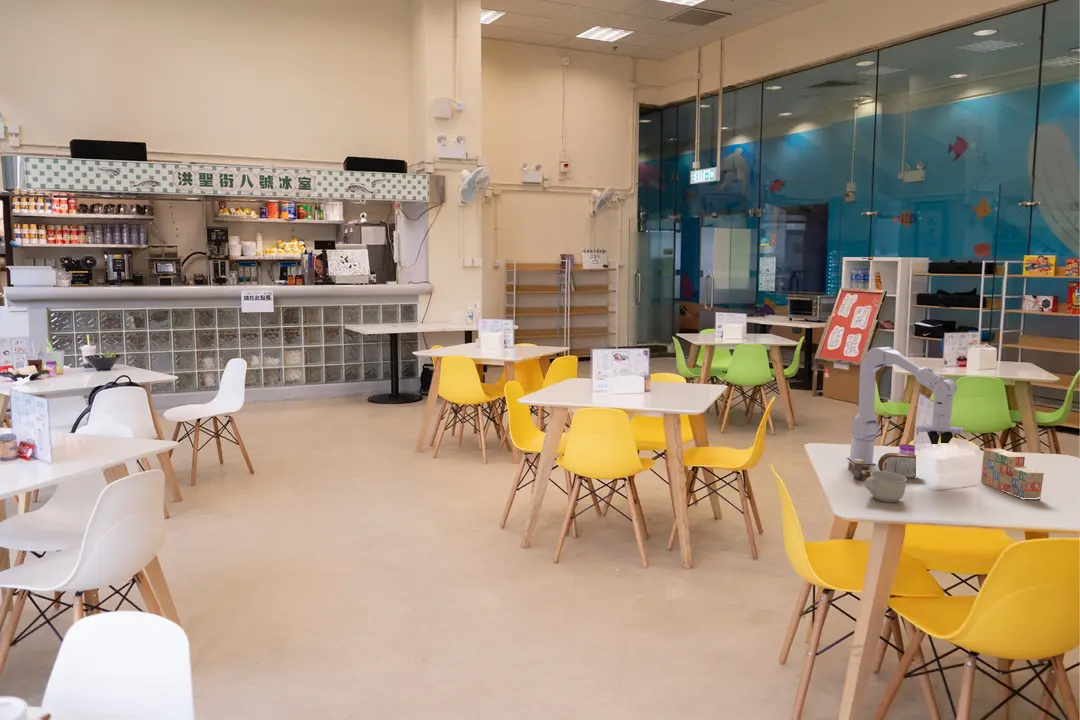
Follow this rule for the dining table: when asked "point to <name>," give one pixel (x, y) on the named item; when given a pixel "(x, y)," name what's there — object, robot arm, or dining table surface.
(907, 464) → the tin
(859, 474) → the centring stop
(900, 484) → the teacup
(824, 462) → the dining table surface
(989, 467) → the stack of blocks
